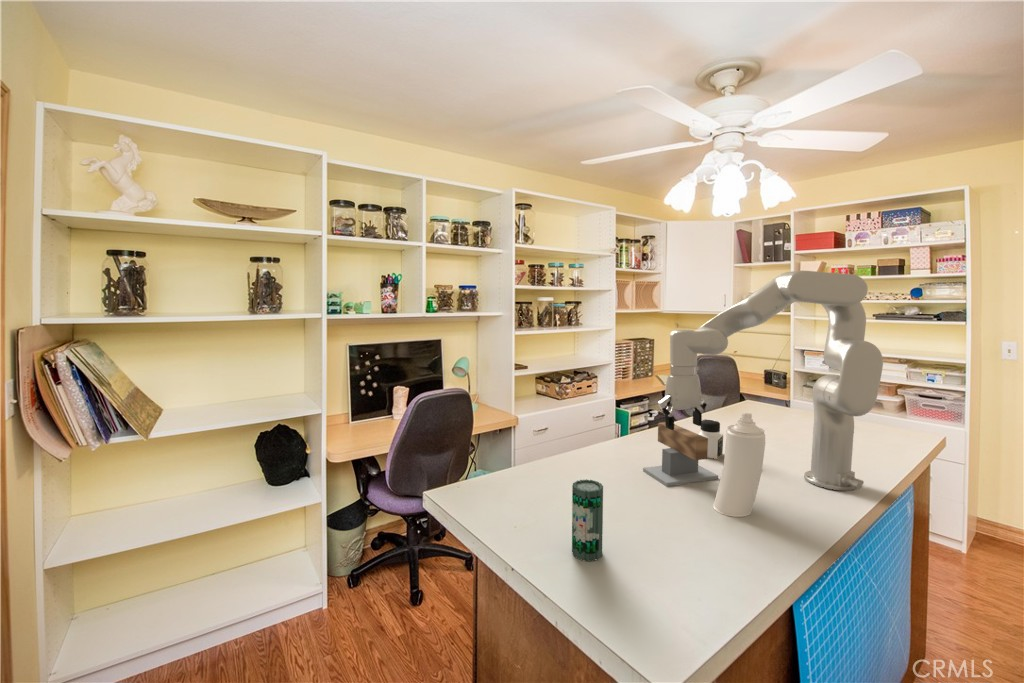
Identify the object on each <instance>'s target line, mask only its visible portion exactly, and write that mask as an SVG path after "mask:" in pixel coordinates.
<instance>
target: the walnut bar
mask: <svg viewBox="0 0 1024 683" xmlns="http://www.w3.org/2000/svg"><path fill="white" fill-rule="evenodd" d="M657 442H658V443H661V444H662V445H664V446H666V447H668V448H672V449H674V450H676V451H678V452H680V453H682V454H684V455H686V456H688V457H690V458H692V459H694V460H698V461H699V460H701V461H702V460H707V459H708V457H707V452H708V438H706V437H703V436H701V435H699V433H696V432H694V431H691V430H689V429H687V428H684V427H682V426H680V425H677V424H675V423H674V430H671V429H668V428H666V425H665V421H664V422H658V424H657Z"/></svg>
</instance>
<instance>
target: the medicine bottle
mask: <svg viewBox="0 0 1024 683" xmlns="http://www.w3.org/2000/svg"><path fill="white" fill-rule="evenodd" d="M720 431H721V423H720V422H719V421H717V420H715V419H710V418H709V419H708V418H707V419H705V418H704V419H702V425H701V426H700V432H699V433H698V434H699V435H701V436H703V437H706V438H708V452H707V459H708V458H709V459H713V458H714V460H718V459H719V458H720V457H721V456H722V454H723V453H724V452H723V450H724V449H723V448H724V433H721V432H720Z"/></svg>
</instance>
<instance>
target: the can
mask: <svg viewBox="0 0 1024 683" xmlns="http://www.w3.org/2000/svg"><path fill="white" fill-rule="evenodd" d="M571 492H572V497H571V498H572V501H571V503H572V504H571V505H572V506H571V507H572V508H571V510H572V513H571V522H572V523H571V524H572V525H571V527H572V528H571V553H572V552H573V553H572V555H575V556H576V557H577V558H579V559H578V560H580V559H582V560H587V561H586V562H588V561H589V560H590V561H589V562H595V561H599V560H600V559H601V558H602V557H603V533H604V532H603V531H604V530H603V528H604V526H603V525H604V524H603V523H604V521H603V520H604V519H603V517H604V516H603V515H604V485H603V484H602V483H601V482H599V481H596V480H593V479H579V480H576V481H574V482H572V491H571ZM575 556H574V557H575ZM576 557H575V558H576ZM577 558H576V559H577ZM595 559H597V560H595ZM582 560H581V561H582ZM592 560H593V561H592Z"/></svg>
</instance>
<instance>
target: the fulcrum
mask: <svg viewBox="0 0 1024 683" xmlns="http://www.w3.org/2000/svg"><path fill="white" fill-rule="evenodd" d="M661 451H662V452H661V456H662V457H661V465H657V466H655V465H654V466H648V467H643V468H642V472H644V473H645V474H646V475H649V476H650V477H651V478H653V479H654V480H656V481H658V482H659V483H661V484H662V485H664V486H665V487H671V486H678V485H685V484H691V483H697V482H698V483H700V482H704V481H712V479H713V480H718V479H719V475H718V474H716V473H714V472H713V471H711V470H709V469H707V468H704V467H703V466H701V465H699V460H694V459H692V458H690V457H688V456H686V455H684V454H682V453H680V452H678V451H676V450H674V449H672V448H670V447H668V448H662V450H661Z"/></svg>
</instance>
